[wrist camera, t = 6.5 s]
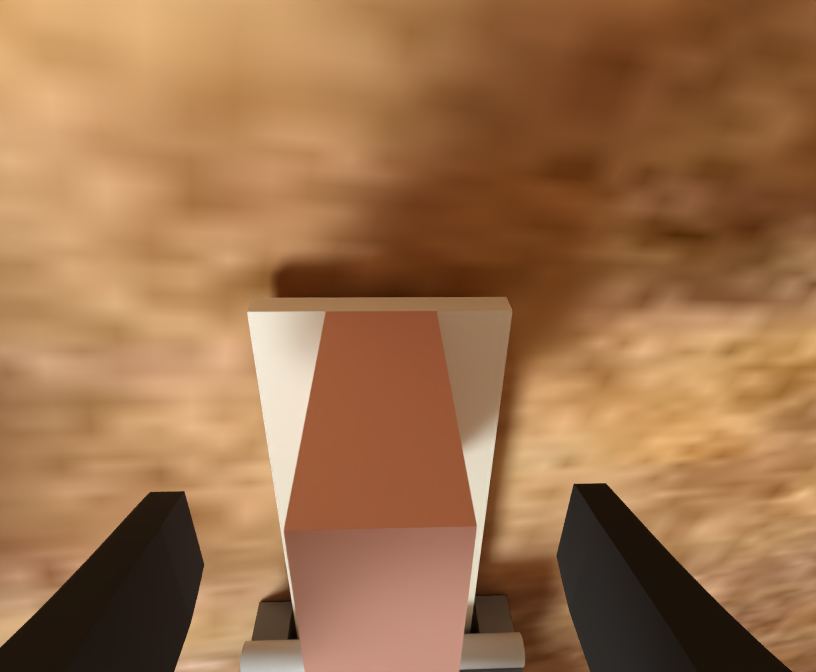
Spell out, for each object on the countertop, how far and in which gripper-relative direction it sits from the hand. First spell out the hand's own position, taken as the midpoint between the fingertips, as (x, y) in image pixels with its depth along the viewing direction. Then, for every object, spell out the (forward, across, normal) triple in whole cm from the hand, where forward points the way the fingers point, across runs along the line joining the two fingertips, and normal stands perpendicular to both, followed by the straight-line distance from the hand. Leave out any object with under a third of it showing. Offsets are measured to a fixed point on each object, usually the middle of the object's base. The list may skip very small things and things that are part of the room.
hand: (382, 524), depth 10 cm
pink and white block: (+4, 0, +5) cm, 7 cm away
